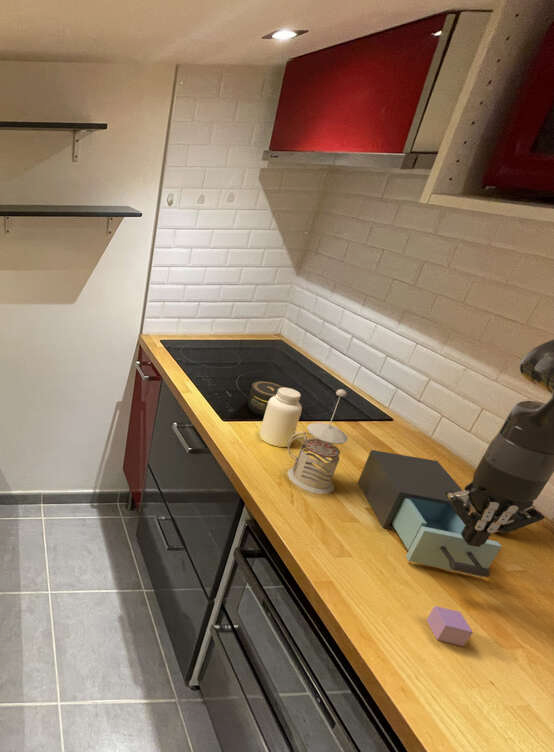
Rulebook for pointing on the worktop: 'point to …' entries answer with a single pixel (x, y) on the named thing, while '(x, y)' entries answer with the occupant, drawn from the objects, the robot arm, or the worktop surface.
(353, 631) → the worktop surface
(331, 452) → the french press
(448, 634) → the block
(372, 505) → the drawer cabinet casing
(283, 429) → the pill bottle
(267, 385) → the jar
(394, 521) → the light blue drawer
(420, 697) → the worktop surface
